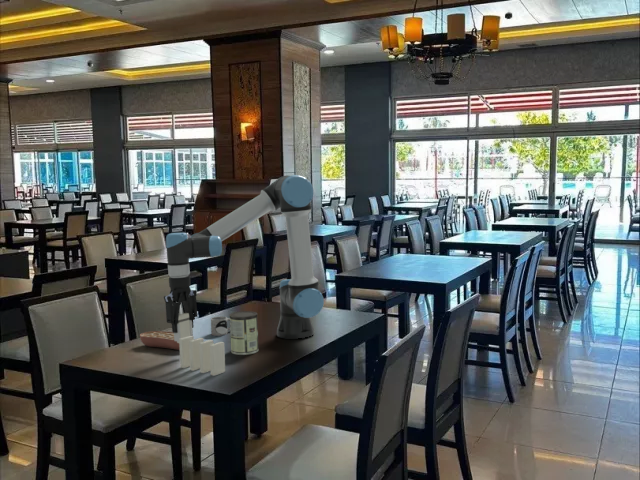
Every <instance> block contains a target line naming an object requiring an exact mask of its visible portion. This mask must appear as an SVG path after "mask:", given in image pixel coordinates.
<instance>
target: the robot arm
mask: <svg viewBox="0 0 640 480" xmlns="http://www.w3.org/2000/svg"><path fill="white" fill-rule="evenodd" d="M313 197H314V188H313V185H312V182H311V181H310V180H308V178H306V177H305V176H302V175H299V174H292V175H283V176H280V177H279V178H278V179H276V180H275V181H273V182H272V183H270V184H269V185H268V186H266V187H264V188H263V189H261V190H260V194H258V195H257V196H255V197H254V198H253V199H250V200H249V201H247V202H246V203H244V204H243V205H241V206H239V207H237V208H236V209H235V210H232V212H230V213H228V214H226V215H225V216H224V217H222V218H220V219H218V220H217V221H215V222H214V223H212V224H211V225H209V226H208V227H206V228H204V229H203V230H201V231H200V232H196V233H194V234H192V235H191V236H190V237H188V234H187V233H186V232H171V233H168V234H166V238H165V240H166V241H165V242H166V243H165V244H166V246H165V247H166V249H165V250H166V260H167V271H168V276H169V278H168V285H169V288H170V291H169V294H167V295H164V296H163V299H164V302H165V316H166V323H167V324H170V325H171V332H173V333H174V341H177V342H179V339H181V334H180V324H178V317H179V315H180V308H181V305H182V304H183V305H182V307H183V309H184V313H189V323H190V336H194V333H193V332H194V329H193V328H194V326H195V325H194V321H195V320H196V318H197V317H198V307H197V294H198V292H197V290H195V289H191V287H190V286H191V276H190V274H191V271H190V270H191V269H190V259H200V258H202V259H203V258H214V257H219V256H221V255H222V253H223V246H222V245H223V241H225V240H226V239H228V238H230V237H231V236H232V235H234V234H236V233H238V232H239V231H241V230H242V229H244V228H245V227H247V226H248V225H250V224H252V223H253V222H255V221H257V220H259V218H261V217H263V216H264V215H266V214H268V213H269V212H275V211H277V210H278V209H280V213H281V214H282V215H283V216H284V217H285V225H286V227H285V228H286V236H287V237H286V238H287V245H288V246H287V247H288V257H289V267H290V275H291V276H290V277H291V278H290V279H282V280H281V281H280V282H279V299H280V300H279V305H280V306H279V307H280V318H279V322H278V326H277V329H276V336H277V337H278V338H280V339H286V340H299V339H298V338H302V339H306V338H305V337H308V338H310V337H309V336H311V337H313V336H314V335H315V328H314V326H313V323H312V320H311V318H314V317H316V316H317V315H319V313H320V312H321V311H322V309H323V307H324V305H325V303H324V302H325V299H324V296H323V294H322V292H321V291H320V286H319V279H318V278H316V277H315V276H314V264H313V255H312V254H313V253H312V244H311V243H312V242H311V234H310V232H311V231H310V222H309V221H310V220H309V213H310V212H311V210H312V199H313ZM313 334H314V335H313ZM312 335H313V336H312Z"/></svg>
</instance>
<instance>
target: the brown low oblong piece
mask: <svg viewBox="0 0 640 480" xmlns="http://www.w3.org/2000/svg"><path fill="white" fill-rule="evenodd" d="M139 337H140V341H141V342H142V344H143V345H145V346H146V347H148V348H149V347H151V348H163V349H171V350H175V351H180V347H179V343H177V341H174V333H173V332H172V331H162V330H153V331H145V332H142V333H140V334H139Z"/></svg>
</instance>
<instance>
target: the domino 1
mask: <svg viewBox="0 0 640 480" xmlns="http://www.w3.org/2000/svg"><path fill="white" fill-rule="evenodd" d="M178 324H180V334H181V338H184V337H188V336H190V323H189V313H185V312H184V313H181V314H180V313H179V317H178ZM177 343H179V342H177Z"/></svg>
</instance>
